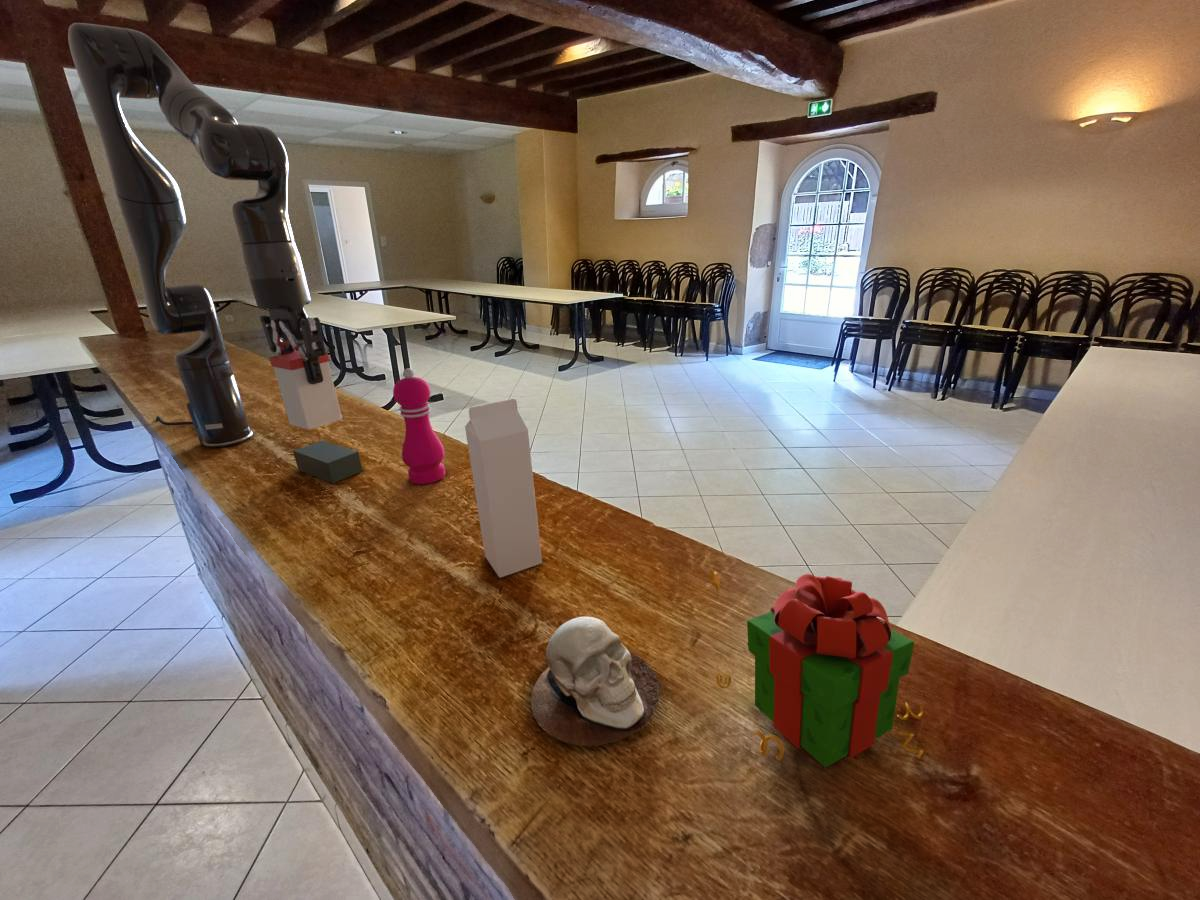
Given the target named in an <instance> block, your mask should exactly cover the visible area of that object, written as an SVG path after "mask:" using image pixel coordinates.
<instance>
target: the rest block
mask: <svg viewBox="0 0 1200 900" xmlns="http://www.w3.org/2000/svg"><path fill="white" fill-rule="evenodd" d="M292 453H293V457H294V460H295V463H296V467H297V470H298V471H301V472H303V473H305V474H308V475H311V476H313V477H316V478H319V479H321V480H324V481H325V482H329V483H331V484H336V483H337V482H340V481H342V480H345V479H347V478H350V477H352V476H354V475H357V474H359V473H361V472H364V469H363V467H362V466H363V465H362V461H361V457H360V453H359V451H357V450H355V449H351V448H348V447H345V446H343V445H342V446H341V445H338V444H335V443H332V442H329V441H326V440H324V439H323V440H320V441H317V442H313V443H311V444H309V445H305V446H303V447H300V448H297V449H293V450H292Z"/></svg>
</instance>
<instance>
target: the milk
mask: <svg viewBox="0 0 1200 900" xmlns="http://www.w3.org/2000/svg"><path fill="white" fill-rule="evenodd" d="M468 416H469V421H468V422H467V423H466V425H465V426H464V428H465V435H466V442H467V450H468V455H469V463H470V469H471V475H472V481H473V488H474V489H473V490H474V494H475V500H476V501H475V502H476V508H477V514H478V520H479V522H478V523H479V528H480V534H481V541H482V547H483V555H484V557H485V559H486V560H487V562H488V563H489V565H490V566H491V568H492V569H493V570H494V572H495V573H496V575H497V576H498V578H504V577H507V576H510V575H513V574H515V573H518V572H521V571H523V570H527V569H530V568H532V567H536V566H538V565H542V563H543V559H542V550H541V540H540V532H539V531H540V529H539V521H538V520H539V519H538V512H537V501H536V493H535V483H534V474H533V464H532V456H531V445H530V436H529V428H528V427H527V425H526V423H525V421H524V419H523V417H522V416H521V413H520V411H519V410H518V401H517V399H516V398H509V399H504V400H500V401H495V402H490V403H484V404H480V405H473V406H470V407H469V409H468Z"/></svg>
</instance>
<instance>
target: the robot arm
mask: <svg viewBox="0 0 1200 900" xmlns="http://www.w3.org/2000/svg"><path fill="white" fill-rule="evenodd" d="M67 30H68V32H67V38H68V39H67V40H68V46H69V50H70V54H71V57H72V61H73V64H74V67H75V70H76V72H77V73H76V74H77V75H78V78H79V81H80V84H81V86H82V89H83V93H84V94H85V98H86V101H87V102H88V106H89V108H90V110H91V113H92V116H93V120H94V122H95V125H96V127H97V130H98V131H97V132H98V133H99V137H100V139H101V144H102V146H103V149H104V153H105V157H106V160H107V164H108V168H109V172H110V176H111V180H112V184H113V188H114V192H115V195H116V199H117V203H118V206H119V210H120V213H121V216H122V219H123V222H124V225H125V228H126V231H127V234H128V237H129V240H130V244H131V247H132V250H133V253H134V256H135V260H136V264H137V265H136V266H137V269H138V270H137V271H138V273H139V278H140V284H141V288H142V292H143V293H142V294H143V298H144V303H145V306H146V310H147V314H148V317H149V320H150V322H151V324H152V327H154V329H155V330H156V331H157V332H158V333H159V334H160V335H163V336H174V335H176V336H177V335H182V334H189V333H197V332H200V336H199V337H198V339H197V340H195V342H194V343H192V344H190V345H189V346H188V347H187V346H186V348H183V349H182V350H179V351H178V352H176V353H175V354H174V358H173V359H174V363H175V365H176V368H177V371H178V374H179V376H180V380H181V382H182V385H183V387H184V391H185V393H186V396H187V399H188V402H187V403H186V407H187V410H188V413H189V416H190V419H191V421H173V422H172V421H171V422H170V421H164V420H163V419H162V417H161V416H159V415H157V416H156V417H155V422H159V423H160V424H162V425H164V426H186V425H187V426H188V425H189V426H192V425H193V428H194V431H195V433H196V437H197V439H198V441H199V444H200V445H203V446H204V447H205V448H222V447H229V446H233V445H236V444H241V443H243V442H245V441H248V440H249V439H251V438H252V437H253V436H254V432H253V431H252V428H251V425H250V421H249V418H248V416H247V412H246V409H245V406H244V403H243V399H242V396H241V393H240V390H239V386H238V384H237V380H236V377H235V374H234V371H233V368H232V365H231V362H230V357H229V354H228V352H227V348H226V345H225V341H224V338H223V335H222V331H221V327H220V323H219V319H218V314H217V311H216V307H215V303H214V301H213V298H212V295H211V294H210V292H209V290H208V289H207V288H206V287H205V286H204V285H202V284H199V283H193V284H192V283H191V284H182V285H181V284H180V285H171V286H166V274H167V270H168V266H169V263H170V261H171V258H172V257H173V255H174V253H175V251H176V250H177V248H178V246H179V244H180V242H181V241H182V238H183V236H184V234H185V232H186V228H187V215H186V211H185V206H184V201H183V197H182V192H181V189H180V186H179V184H178V181H176V179H175V178H174V176H173V175H172V173H171V172H170V171H169V170H168V169H167V167H165V165H164V164H163V163H162V162H161V161H160V160H159V159H158V158H157V157H156V156H155V155H154V153H152V152H151V151H150V149H148V148H147V146H146V145H145V144H144V143H143V142H142V141H141V140H140V139H139V137H138V136H137V134H136V133H135V132H134V130H133V129H132V128H131V126H130V124H129V123H128V120H127V118H126V116H125V114H124V112H123V109H122V106H121V103H120V98H121V99H142V100H143V99H144V100H150V99H151V100H152V99H156V98H157V100H158V106H159V110H160V112H161V114H162V116H163V117H164V119H165V120H166V122H167V123H168V124H169V126H170V127H171V128H172V129H173V130H174V131H176V133H178V134H179V135H180V136H182V137H183V138H184V139H186V140H187V141H188V142H189V143H191V144H192V146H193V147H194V148H195V151H196V152H197V153H198V154H199V155H198V156H199V157H200V158H201V161H202V162H203V164H204V166H205V167H206V169H207V170H209V172H211V173H212V174H214V175H215V176H217V177H220V178H222V179H225V180H230V181H252V182H253V181H254V182H255V181H257V190H256V194H255V196H253V197H247V198H243V199H240V200H236V201H235V202H234V203H233V205H232V207H231V209H232V215H233V220H234V222H235V226H236V231H237V233H238V237H239V240H240V243H241V248H242V254H243V255H242V256H243V261H244V265H245V269H246V273H247V276H248V278H249V282H250V283H249V284H250V286H251V290H252V293H253V296H254V300H255V303H256V306H257V307H258V308H259V309H261V310H268V314H265V315H260V316H259V320H260V322H261V326H262V329H263V332H264V334H265V337H266V338H265V339H266V340H267V344H268V347H269V350H270V351H271V352H272V353H276V356H278V355H282V354H287V353H292V352H296V350H297V351H298V352H299V354H300V356H301V358H302V359H303V361H304V362H303V364H304V368H305V372H306V376H307V380H308V383H310V384H317V383H321V382H323V375H322V371H321V367H320V363H319V358H320V357H321V356H324V355H326V352H327V350H326V347H325V341H324V335H323V330H322V324H321V320H320V318H319V317H317V316H316V317H309V316H308V314H307V313H306V310H305V307H304V306H305V305H306V306H307V305H309V304H310V303H311V302H312V299H311V294H310V290H309V286H308V283H307V277H306V274H305V271H304V270H305V269H304V267H303V263H302V259H301V255H300V252H299V250H298V248H297V245H296V241H295V237H294V233H293V229H292V226H291V222H290V218H289V211H288V209H289V208H288V179H289V158H288V154H287V151H286V147H285V145H284V143H283V142H282V140H281V139H280V138H279V136H278V135H277V134H276V132H274V130H272V129H270V128H268V127H264V126H261V125H260V126H259V125H250V124H239V123H238V121H237V119H236V118H235V117H234V116H233V114H232V113H231V112H230V111H229V110H228V109H227V108H225V107H224V106H223V105H222V104H220V103H219V102H217V101H216V100H215V99H213V97H211V96H210V95H208V94H206V93H205V92H204V91H203V90H201V89H200V88H198V87H197V86H196V85H195V84H194V83H193V82H192V81H191V80H190V78H188V76H187V75H186V74H185V73H184V72H183V71H182V69H181V68H180V67H179V66H178V65H177V64H176V62H174V60H173V59H172V58H171V57H170V56H169V55H168V54H167V53H166V51H165V50H164V49H163V48H162V47H161V46H160V45H159V43H157V42H156V41H155V40H154V39H153V38H151V37H150V36H148V35H147V34H146V33H144V32H142V31H139V30H136V29H132V28H127V27H120V26H113V25H112V26H110V25H103V24H95V23H86V22H73V23H72V24H70V25H69V27H68V29H67ZM305 349H306V351H305Z"/></svg>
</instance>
